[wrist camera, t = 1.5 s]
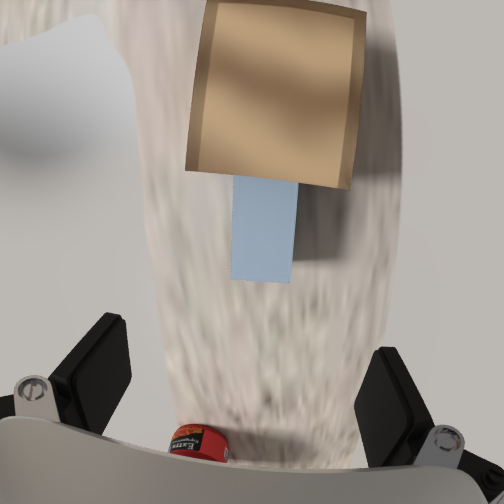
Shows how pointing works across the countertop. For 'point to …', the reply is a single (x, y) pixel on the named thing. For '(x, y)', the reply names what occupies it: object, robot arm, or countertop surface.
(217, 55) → the cubby
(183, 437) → the canned food
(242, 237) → the bar
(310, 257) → the countertop surface
